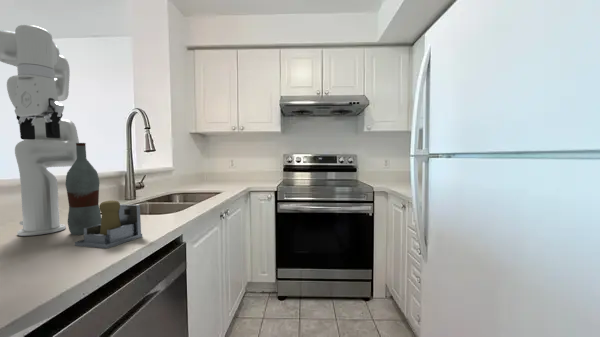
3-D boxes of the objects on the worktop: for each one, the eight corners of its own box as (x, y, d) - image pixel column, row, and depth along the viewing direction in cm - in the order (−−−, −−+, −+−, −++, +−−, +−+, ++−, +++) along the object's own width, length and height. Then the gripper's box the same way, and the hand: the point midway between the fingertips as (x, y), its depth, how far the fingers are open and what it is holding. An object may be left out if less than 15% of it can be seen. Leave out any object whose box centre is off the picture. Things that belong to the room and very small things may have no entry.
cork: (112, 240, 85) (110, 202, 85) (94, 240, 86) (92, 202, 86) (128, 235, 91) (126, 199, 91) (110, 234, 92) (108, 199, 92)
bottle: (60, 235, 97) (55, 142, 96) (81, 228, 106) (77, 143, 105) (89, 235, 97) (84, 142, 95) (108, 228, 106) (103, 143, 105)
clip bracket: (74, 245, 85) (73, 210, 85) (112, 234, 97) (111, 203, 96) (107, 248, 82) (105, 211, 81) (142, 236, 93) (140, 204, 93)
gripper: (-2, 74, 80) (2, 139, 80) (43, 67, 75) (47, 136, 75) (30, 81, 87) (34, 140, 88) (74, 75, 82) (77, 138, 83)
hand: (40, 138), depth 81 cm, fingers open, 9 cm apart
